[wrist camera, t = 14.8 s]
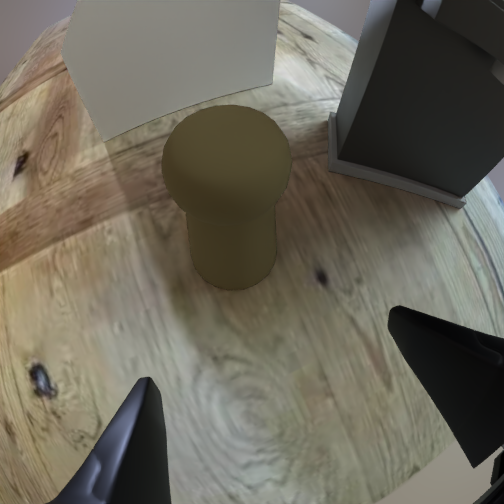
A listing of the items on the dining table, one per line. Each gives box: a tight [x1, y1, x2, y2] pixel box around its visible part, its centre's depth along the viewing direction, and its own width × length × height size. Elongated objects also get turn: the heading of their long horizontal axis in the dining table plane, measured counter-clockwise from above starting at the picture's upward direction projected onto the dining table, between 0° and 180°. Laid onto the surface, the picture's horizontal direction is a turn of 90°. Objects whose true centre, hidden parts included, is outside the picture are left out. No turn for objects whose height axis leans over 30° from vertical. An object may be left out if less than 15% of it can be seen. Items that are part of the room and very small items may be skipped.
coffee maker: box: [328, 0, 504, 209], centre depth 13 cm, size 10×15×20 cm, turn 80°
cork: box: [162, 105, 292, 290], centre depth 14 cm, size 6×6×11 cm
